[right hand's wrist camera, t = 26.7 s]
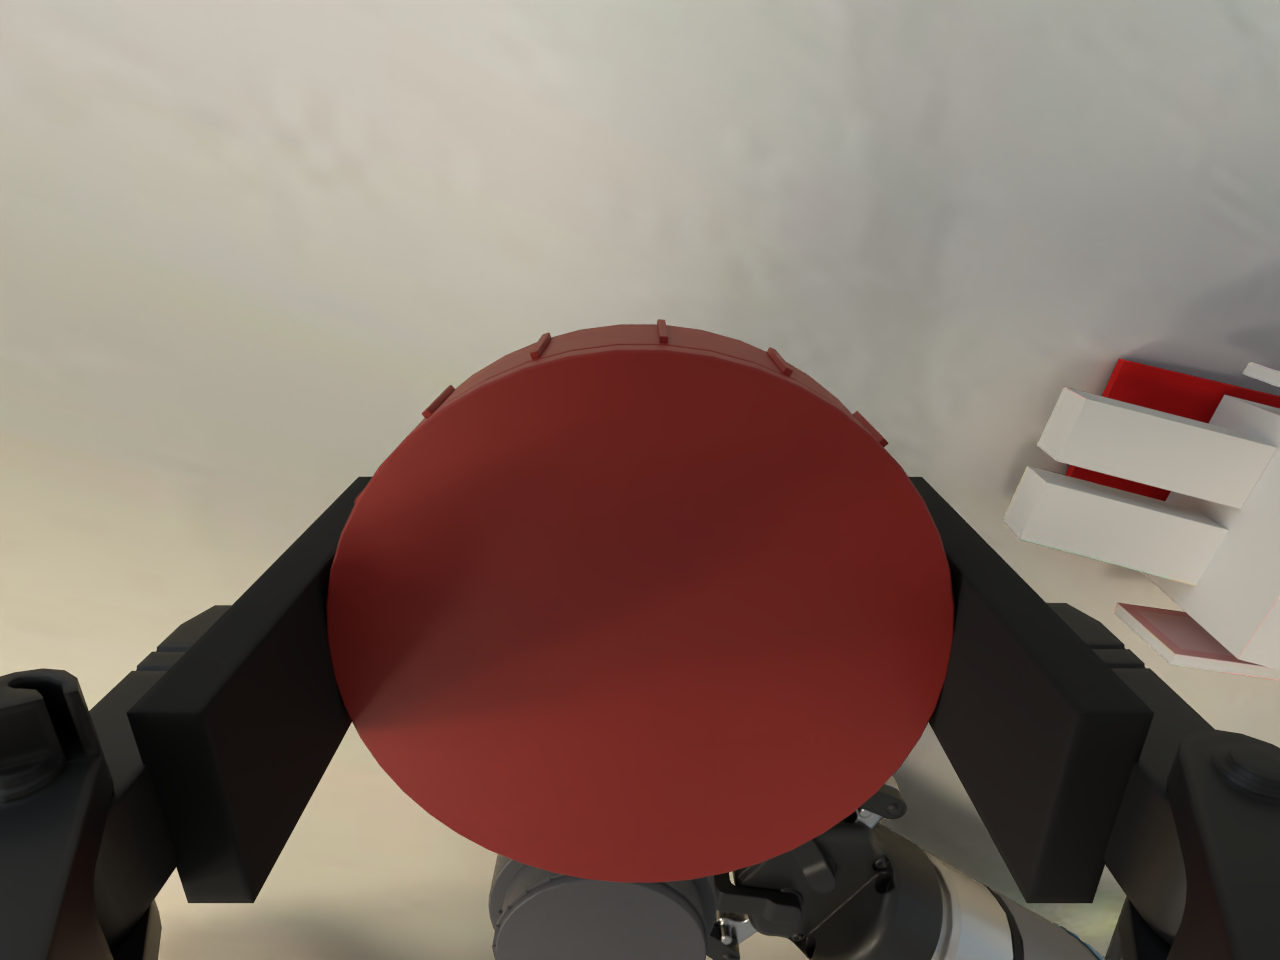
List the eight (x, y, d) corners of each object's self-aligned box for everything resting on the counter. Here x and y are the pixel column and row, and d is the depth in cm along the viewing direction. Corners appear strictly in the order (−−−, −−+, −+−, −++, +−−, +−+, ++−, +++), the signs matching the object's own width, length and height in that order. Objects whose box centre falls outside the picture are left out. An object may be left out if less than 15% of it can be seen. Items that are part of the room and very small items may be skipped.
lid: (344, 296, 10) (284, 318, 9) (971, 339, 11) (1036, 368, 9) (385, 784, 14) (348, 871, 12) (860, 808, 14) (891, 897, 12)
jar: (603, 584, 37) (584, 827, 23) (723, 673, 39) (772, 946, 25) (504, 686, 40) (431, 964, 25) (622, 765, 42) (614, 1062, 27)
